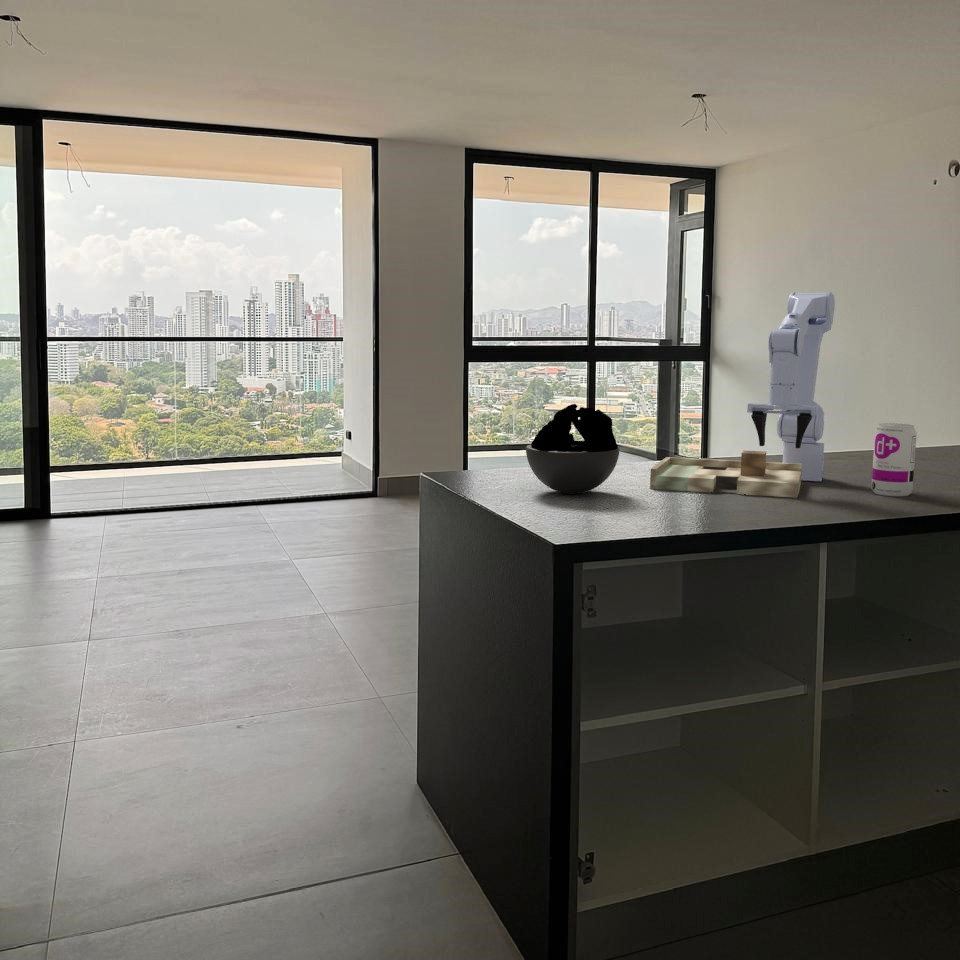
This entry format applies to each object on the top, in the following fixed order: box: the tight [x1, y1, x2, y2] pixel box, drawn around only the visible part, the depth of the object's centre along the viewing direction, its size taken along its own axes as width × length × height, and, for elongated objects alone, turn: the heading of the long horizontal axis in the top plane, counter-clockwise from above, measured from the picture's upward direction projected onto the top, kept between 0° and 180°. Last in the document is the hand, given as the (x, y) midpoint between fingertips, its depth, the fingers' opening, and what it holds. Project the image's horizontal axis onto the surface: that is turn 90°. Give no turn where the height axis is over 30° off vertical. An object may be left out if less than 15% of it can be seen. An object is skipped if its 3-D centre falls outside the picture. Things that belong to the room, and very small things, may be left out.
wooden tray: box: [649, 456, 802, 499], centre depth 222 cm, size 31×21×4 cm
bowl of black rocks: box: [525, 403, 621, 495], centre depth 210 cm, size 20×20×19 cm
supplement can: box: [870, 422, 918, 497], centre depth 212 cm, size 8×8×15 cm
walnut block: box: [740, 450, 767, 477], centre depth 219 cm, size 5×5×5 cm
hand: (779, 446), depth 215 cm, fingers open, 7 cm apart
